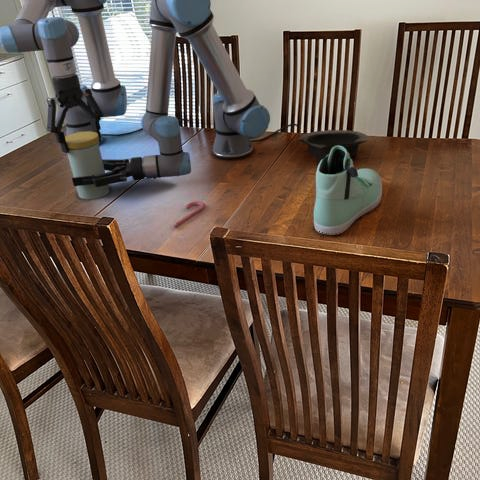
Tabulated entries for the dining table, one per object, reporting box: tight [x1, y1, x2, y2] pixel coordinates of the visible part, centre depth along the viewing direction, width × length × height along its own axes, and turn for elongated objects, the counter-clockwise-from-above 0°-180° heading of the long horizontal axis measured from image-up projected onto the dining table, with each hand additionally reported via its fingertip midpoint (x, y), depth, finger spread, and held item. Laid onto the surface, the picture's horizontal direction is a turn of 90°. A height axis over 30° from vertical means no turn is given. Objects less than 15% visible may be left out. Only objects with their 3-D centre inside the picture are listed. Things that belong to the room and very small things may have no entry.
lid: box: [65, 131, 99, 149], centre depth 151 cm, size 11×11×2 cm
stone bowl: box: [297, 129, 371, 164], centre depth 171 cm, size 25×25×9 cm
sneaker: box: [313, 146, 383, 236], centre depth 133 cm, size 14×35×20 cm, turn 152°
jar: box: [66, 142, 110, 200], centre depth 156 cm, size 10×10×18 cm
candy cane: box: [173, 200, 207, 229], centre depth 142 cm, size 6×15×2 cm, turn 145°
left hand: (82, 146), depth 152 cm, fingers open, 11 cm apart
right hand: (76, 175), depth 157 cm, fingers closed on jar, 10 cm apart
